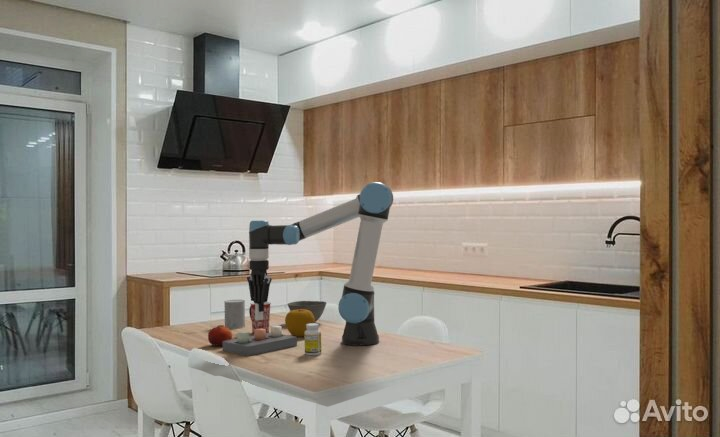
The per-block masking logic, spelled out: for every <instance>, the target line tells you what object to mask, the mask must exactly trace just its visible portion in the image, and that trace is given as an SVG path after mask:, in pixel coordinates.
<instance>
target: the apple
mask: <svg viewBox="0 0 720 437" xmlns="http://www.w3.org/2000/svg"><path fill="white" fill-rule="evenodd" d="M284 320H285V321H284V323H285V327H286V329H287V331H288V332H289V333H290V334H291V336H295V337H297V338H304V333H305V331H306V330H307V328H306V324H311V323H316V322H315V318H314V316H313V314H312V312H311V311H309V310H306V309H297V310H292V311H290V310H289V312H287V314H286V316H285V319H284Z"/></svg>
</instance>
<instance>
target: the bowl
mask: <svg viewBox="0 0 720 437" xmlns="http://www.w3.org/2000/svg"><path fill="white" fill-rule="evenodd" d="M286 305H287V307H288V309H289V312H290V311H292V310H297V309H306V310H309V311H311V312H312V314H313V316H314V318H315V323H316V322H318V320H319V319H320V318H321V317H322V315H323V313H324V311H325V309H326V306H327V302H326V301H324V300H323V301H319V300H316V301H315V300H298V301H292V302H288V303H287V304H286Z"/></svg>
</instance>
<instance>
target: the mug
mask: <svg viewBox="0 0 720 437" xmlns="http://www.w3.org/2000/svg"><path fill="white" fill-rule="evenodd" d="M271 305H272V303H271V302H270V301H267V302H264V311H263V320H255V303H254V301H252V302H250V307H249V309H248V310H249V311H248V312H249V314H248V315H249V317H250V321H251V329H252V330H251V331H252V334H253V335H254V330H255V329H266V333H270V319H271Z"/></svg>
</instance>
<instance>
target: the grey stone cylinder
mask: <svg viewBox="0 0 720 437" xmlns="http://www.w3.org/2000/svg"><path fill="white" fill-rule="evenodd" d="M245 306H246V301H245V300H244V299H227V300H224V326H225V327H227V328H228V329H229V330H231V329H232V330H235V329H237V328H238V329H243V327H244V328H245V327H246V313H245V312H246V309H245V308H246V307H245Z"/></svg>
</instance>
